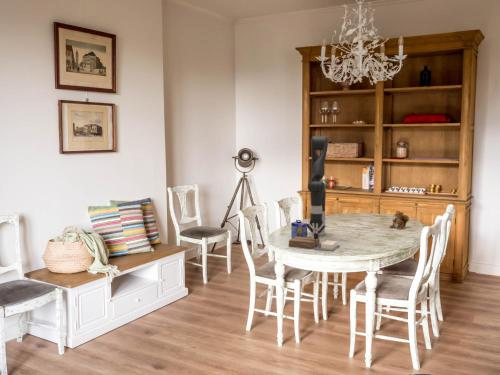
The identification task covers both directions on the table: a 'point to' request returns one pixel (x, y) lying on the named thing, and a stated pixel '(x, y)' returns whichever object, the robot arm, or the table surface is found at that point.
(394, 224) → the stuffed squirrel
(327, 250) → the mat
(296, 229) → the ink cartridge box
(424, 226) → the table surface
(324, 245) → the cream rectangular block
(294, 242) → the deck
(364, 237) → the table surface
